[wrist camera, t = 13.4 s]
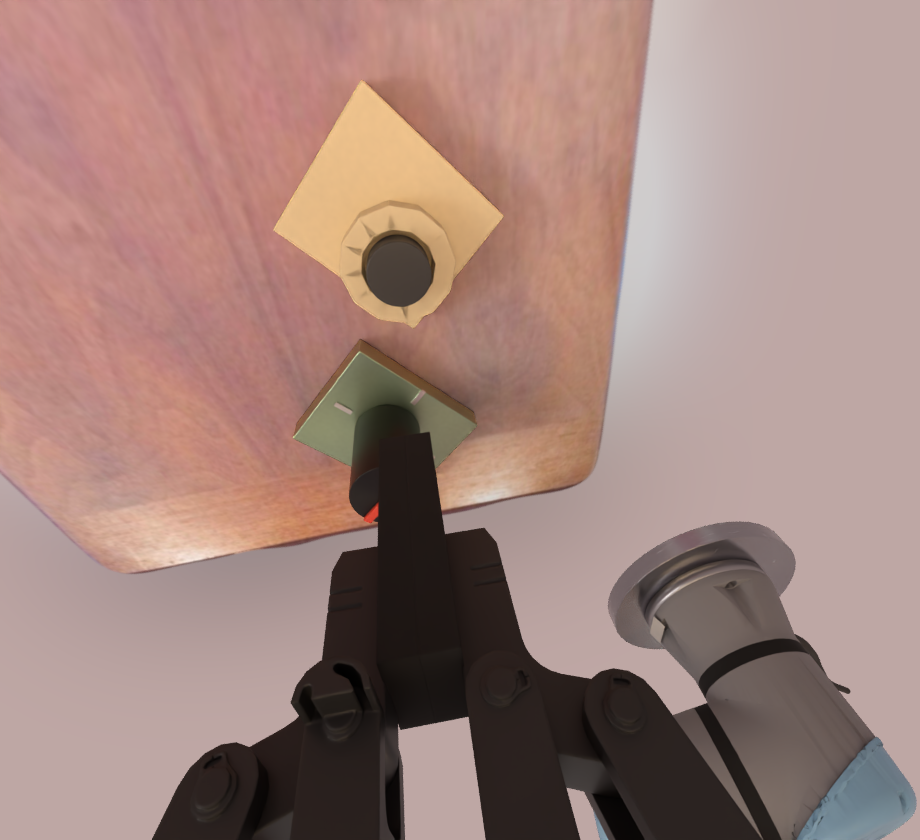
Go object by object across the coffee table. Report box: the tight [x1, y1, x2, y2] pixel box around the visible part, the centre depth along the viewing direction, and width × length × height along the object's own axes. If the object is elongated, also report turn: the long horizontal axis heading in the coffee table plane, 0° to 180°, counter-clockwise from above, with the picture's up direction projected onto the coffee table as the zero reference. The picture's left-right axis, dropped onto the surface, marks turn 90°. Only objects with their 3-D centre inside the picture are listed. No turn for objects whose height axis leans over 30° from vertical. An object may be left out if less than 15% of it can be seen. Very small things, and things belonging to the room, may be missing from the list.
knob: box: [349, 405, 420, 523], centre depth 31 cm, size 5×5×7 cm
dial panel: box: [293, 339, 477, 469], centre depth 35 cm, size 11×9×2 cm
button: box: [366, 235, 432, 307], centre depth 25 cm, size 4×4×2 cm
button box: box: [273, 80, 504, 329], centre depth 26 cm, size 10×9×4 cm
